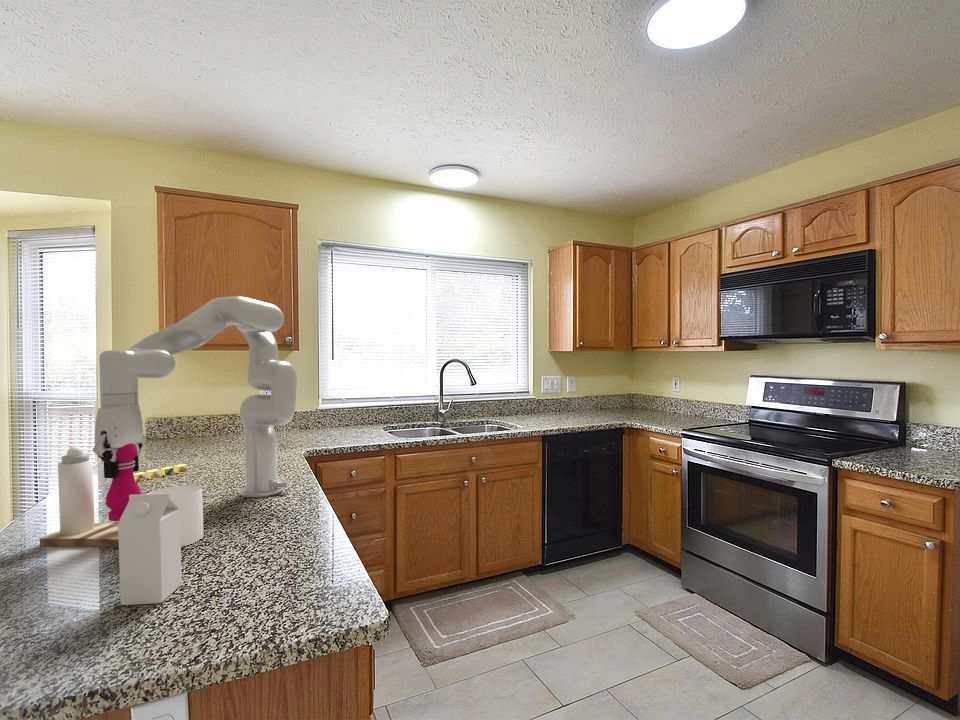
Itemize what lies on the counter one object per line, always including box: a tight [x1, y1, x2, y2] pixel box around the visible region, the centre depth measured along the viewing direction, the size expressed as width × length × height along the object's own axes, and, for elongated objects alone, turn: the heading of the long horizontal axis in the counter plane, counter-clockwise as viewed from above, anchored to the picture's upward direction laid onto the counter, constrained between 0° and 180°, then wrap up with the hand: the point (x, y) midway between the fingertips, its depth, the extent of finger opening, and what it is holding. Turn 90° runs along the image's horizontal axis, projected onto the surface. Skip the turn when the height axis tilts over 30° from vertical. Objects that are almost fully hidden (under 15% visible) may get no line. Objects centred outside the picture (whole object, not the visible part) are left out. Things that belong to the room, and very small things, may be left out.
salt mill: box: [57, 445, 96, 535], centre depth 122 cm, size 7×7×21 cm
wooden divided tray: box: [39, 522, 119, 548], centre depth 122 cm, size 22×10×2 cm, turn 86°
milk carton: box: [117, 493, 183, 606], centre depth 93 cm, size 7×7×19 cm
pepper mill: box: [105, 443, 143, 522], centre depth 121 cm, size 7×7×20 cm
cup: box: [147, 484, 204, 548], centre depth 120 cm, size 12×12×12 cm
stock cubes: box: [133, 463, 188, 483], centre depth 181 cm, size 32×32×3 cm
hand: (121, 473), depth 121 cm, fingers closed on pepper mill, 5 cm apart
